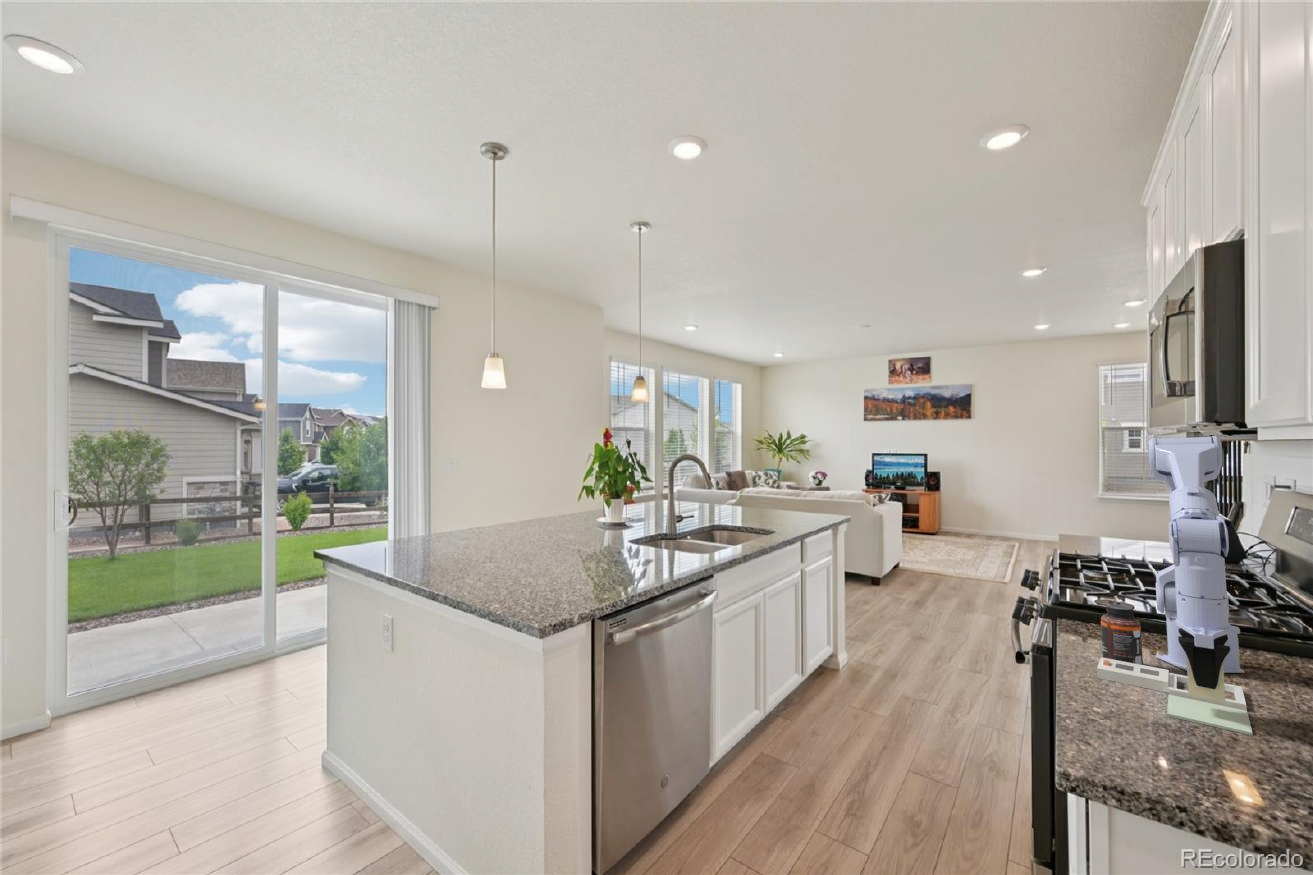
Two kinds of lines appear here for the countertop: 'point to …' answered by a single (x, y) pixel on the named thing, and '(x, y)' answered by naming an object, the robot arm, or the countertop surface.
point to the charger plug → (1206, 692)
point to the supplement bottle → (1121, 634)
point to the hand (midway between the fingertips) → (1205, 682)
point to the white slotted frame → (1160, 681)
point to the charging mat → (1209, 714)
